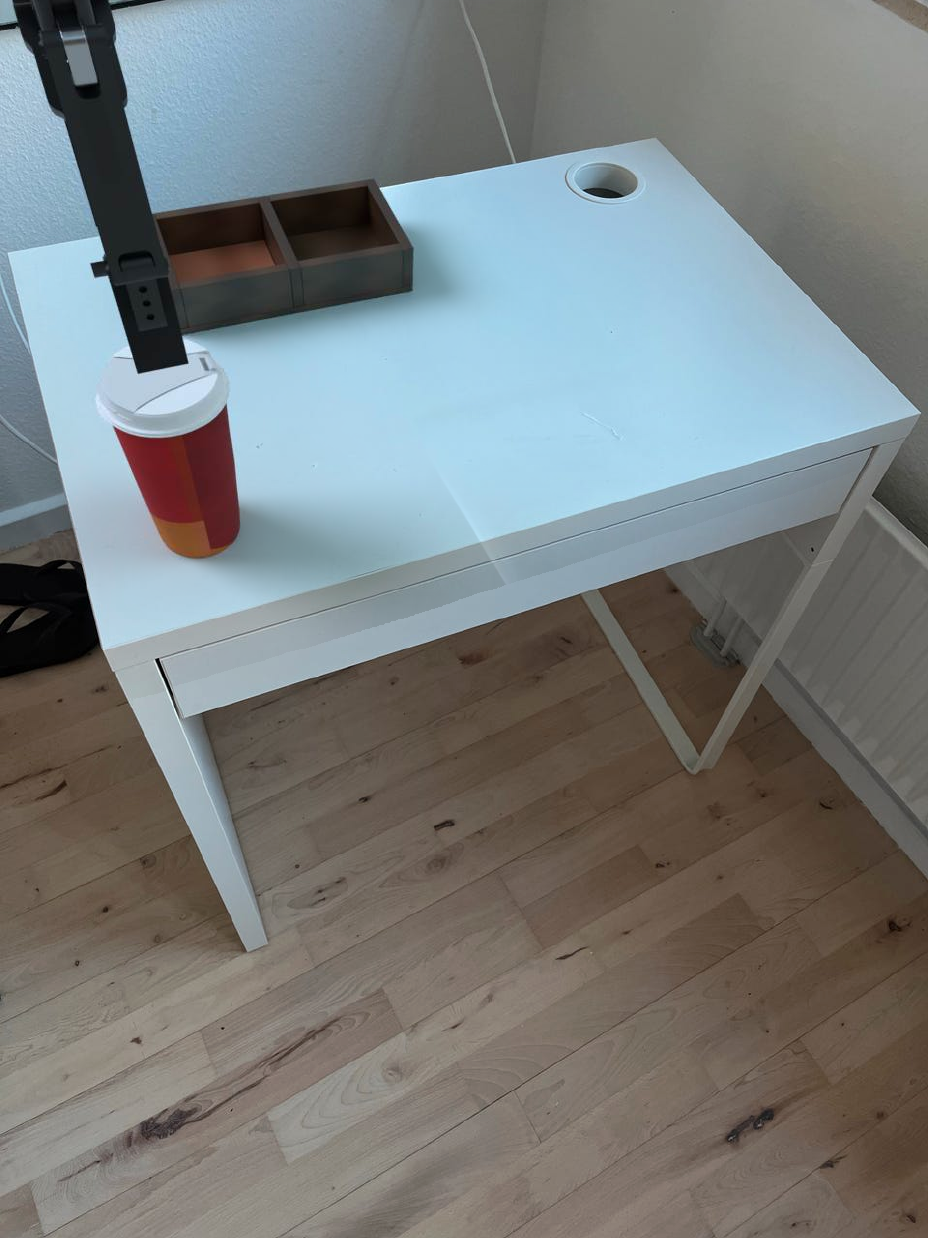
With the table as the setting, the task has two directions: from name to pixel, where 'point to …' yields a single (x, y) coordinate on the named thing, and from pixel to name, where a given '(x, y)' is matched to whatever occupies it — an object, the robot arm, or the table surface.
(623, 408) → the table surface
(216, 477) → the coffee cup
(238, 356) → the table surface
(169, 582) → the table surface
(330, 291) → the cup holder
